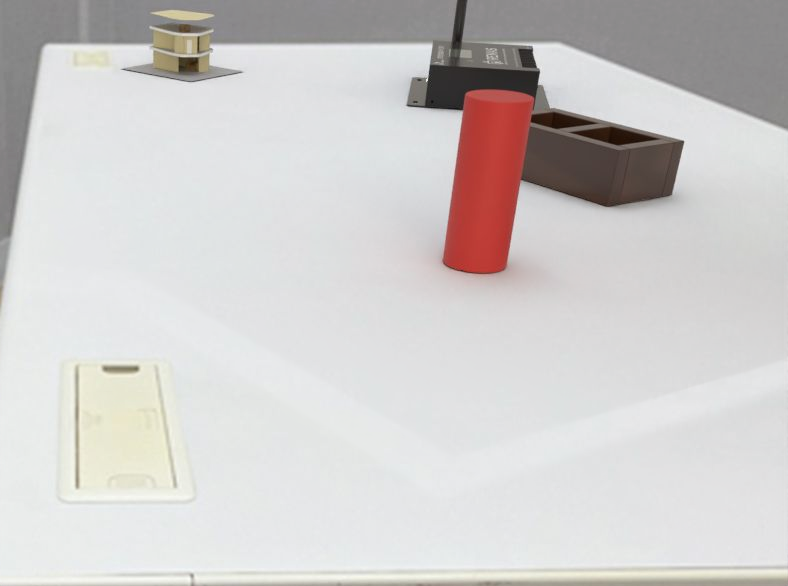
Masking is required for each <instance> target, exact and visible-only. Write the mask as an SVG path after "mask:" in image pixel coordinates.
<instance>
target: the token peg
mask: <svg viewBox="0 0 788 586" xmlns="http://www.w3.org/2000/svg"><path fill="white" fill-rule="evenodd" d="M533 104H534V98H533V97H532V96H530V95H528V94H524V93H520V92H514V91H506V90H474V91H469V92H467V93H466V94H465V100H464V107H463V109H462V115H461V116H462V117H461V123H460V128H459V129H460V130H459V137H458V145H457V151H456V158H455V167H454V172H453V181H452V189H451V196H450V202H449V211H448V218H447V225H446V232H445V240H444V246H443V254H442V263H443V264H444V263H445V264H444V265H445V266H447V267H449V268H450V269H451V268H452V269H454V270H457V271H461V270H463V271H462V272H465V271H466V272H467V273H472V274H473V273H474V274H492V273H497V272H501V271H503V270H505V269H506V268H507V265H508V261H509V259H508V258H509V253H510V248H511V243H512V237H513V231H514V223H515V219H516V213H517V205H518V200H519V193H520V188H521V183H522V179H521V176H522V170H523V164H524V158H525V152H526V146H527V140H528V134H529V128H530V122H531V116H532V110H533ZM466 272H465V273H466Z"/></svg>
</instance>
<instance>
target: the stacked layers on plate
mask: <svg viewBox="0 0 788 586" xmlns="http://www.w3.org/2000/svg"><path fill="white" fill-rule="evenodd" d="M151 14H152V15H157V16H160V17H164V18H168V19H172V20H179V21H202V20H205V19H209V18H213V17H215V15H214V14H212V13H205V12H194V11H187V10H179V9H178V10H177V9H169V10H168V9H167V10H160V11H153V12H151ZM148 27H149V30H153V31H152V32H153V34H152V35H153V38H152V39H153V41H152V42H153V43H152V44H153V45H149V50H151V51H153V53H152V54H153V55H152V57H153V58H152V62H151V63H146V64H140V65H139V64H138V65H133V66H128V67H123V68H120V69H121V70H126V71H132V72H137V73H142V74H147V75H148V74H149V75H153V76H160V77H163V78H164V77H165V78H170V79H174V80H180V81H181V80H182V81H186V82H196V81H201V80H206V79H210V78H217V77H223V76H226V75H232V74H236V73H243V72H244V70H243V71H242V70H238V69H232V68H227V67H222V66H214V65H210V54H212V53H214V48H212V47H211V33H214V32H215V28H214V27H211V26H205V25H197V24H189V23H180V22H166V23H160V24H159V23H158V24H153V25H149V26H148Z"/></svg>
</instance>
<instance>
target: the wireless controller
mask: <svg viewBox="0 0 788 586" xmlns="http://www.w3.org/2000/svg"><path fill="white" fill-rule="evenodd" d="M467 8H468V0H456V4H455V12H454V21H453V28H452V35H451V36H452V37H451V40H439V39H433V40H432V47H431V53H430V59H429V60H430V61H429V68H428V77H419V76H412V77H411V82H410V87H409V90H408V91H409V92H408V96H407V101H406V106H408V107H419V108H433V107H434V109H435V108H437V109H448V108H459V109H458V110H463V107H464V100H465V94H466V93H467V92H469V91H474V90H506V91H514V92H520V93H524V94H528V95H530V96H532V97H533V98H534V104H533V110H541V109H549V108H551V107H550V104H549V101H548V98H547V93H546V91H545V88H544V87H545V86H544V85H543V84H539V80H540V75H541V69H540V68H539V67H538V66H537V62H536V59H535V56H534V47H533V45H525V44H506V43H505V44H504V43H486V42H471V41H463V38H464V29H465V22H466V15H467ZM427 78H428V81H427V82H426V79H427Z"/></svg>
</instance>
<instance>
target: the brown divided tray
mask: <svg viewBox="0 0 788 586" xmlns="http://www.w3.org/2000/svg"><path fill="white" fill-rule="evenodd" d="M684 145H685V140H683V139H680V138H675V137H671V136H667V135H663V134H660V133H655V132H651V131H647V130H643V129H641V128H640V129H639V128H635V127H632V126H627V125H625V124H624V125H623V124H620V123H615V122H611V121H608V120H603V119H600V118H595V117H593V116H588V115H584V114H581V113H580V114H579V113H575V112H572V111H568V110H564V109H560V108H556V107H550V108H549V109H541V110H532V116H531V122H530V128H529V134H528V140H527V146H526V152H525V158H524V164H523V170H522V176H521V180H524V181H527V182H529V183H533V184H535V185H539V186H541V187H546V188H549V189H552V190H555V191H557V192H561V193H564V194H567V195H570V196H574V197H577V198H580V199H583V200H586V201H590V202H592V203H596V204H599V205H603V206H605V207H612V206H617V205H623V204H628V203H635V202H640V201H644V200H645V201H646V200H651V199H656V198H661V197H663V198H664V197H668V196H672V195H673V192H674V187H675V183H676V180H677V176H678V170H679V167H680V162H681V159H682V153H683V150H684Z"/></svg>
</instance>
